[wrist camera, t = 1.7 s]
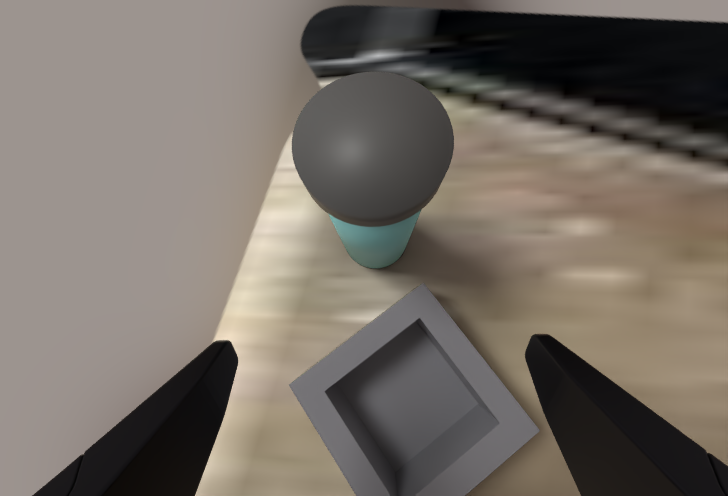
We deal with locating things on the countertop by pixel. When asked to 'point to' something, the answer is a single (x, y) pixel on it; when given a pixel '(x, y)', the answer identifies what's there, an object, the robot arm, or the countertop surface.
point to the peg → (373, 159)
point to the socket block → (412, 405)
